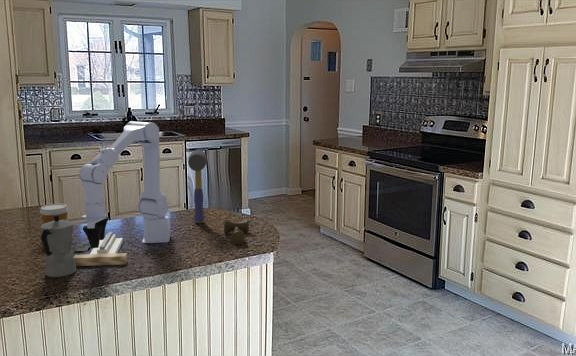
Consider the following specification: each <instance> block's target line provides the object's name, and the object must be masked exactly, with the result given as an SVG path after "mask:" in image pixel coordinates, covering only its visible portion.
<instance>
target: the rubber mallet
mask: <svg viewBox="0 0 576 356" xmlns="http://www.w3.org/2000/svg"><path fill="white" fill-rule="evenodd" d="M187 163H188V164H187V165H188V166H189V168H190V170H192V171H194V181H195V183H194V187H195V188H194V192H193V193H194V194H193V203H194V222H195V223H197V224H202V223H204V220H205V217H204V193H203V192H204V191H203V188H202V186H203V183H202V170H204V169H205V167H206V165H207V164H208V155H206V153H205V152H204V151H203V150H201V149H196V150H194V151H192V152H191V153H190V154H189V156H188V159H187Z"/></svg>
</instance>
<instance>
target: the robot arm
mask: <svg viewBox="0 0 576 356" xmlns="http://www.w3.org/2000/svg"><path fill="white" fill-rule="evenodd" d="M134 142H136V143H138V144H139V145H140V146H141V147H143V173H144V174H143V177H144V178H143V181H144V183H143V185H144V189H143V190H144V191H143V192H141V193H140V194H139V197H138V198H139V199H138V203H137V210H138V212H139V214H141V217H142V218H143V219H142V220H143V221H142V222H143V239H142V240H141V243H142V244H155V243H157V244H158V243H159V244H160V243H169V242H170V239H171V235H172V234H171V233H172V232H171V221H170V220H171V219H170V216H169V215H167V213H168V211H169V204H168V201H167V196H166V194H165V193H164V192H163V191H162V190H161V189H160V188H161V173H160V172H161V169H160V166H161V165H160V162H161V161H160V159H161V158H160V157H161V156H160V128H159V126H158V125H157V124H156V123H154V122H153V121H152V122H151V121H149V122H146V121H145V122H144V121H134V120H130V121H129V122H127V123H126V124H125V126H123V131H122V133H121V134H120V135H119V136H118V137H117V139H116V140H115V141H114V142H113V143H112V145H111V146H110V147H104V148H101V150H99V151H100V152H98V154H97V155H96V156H95V157H94V158H92V159H91V161H90V162H89V163H85V164H84V165H82V166H81V167H80V169H79V173H78V174H77V175H78V178H79V180H80V182H81V183H82V184H81V185H82V187H83V195H84V209H85V214H83V215H82V216H81V219H82V220H85V221H86V225H84V226H82V231H83V232H84V234H85V235H86V237H87V238H88V241H89V243H90V246H91V247H90V248H91V249H93V248H98V247H99V241H100V240H103V239H104V238H105V237H104V236H106V234H105V233H106V227H107V224H108V221H109V219H110V217H109V216H107V213H106V204H105V201H106V200H105V188H104V182H105V181H106V180H107V178H108V176H109V175H108V174H109V173H110V170H112V169H111V168H113V167H114V166H115V164H117V163H118V162H119V158H120V157H119V155H120V154H121V153H122V152H123V151H125V150H126V149H127V148H128V147H129V146H130V145H132V143H134Z"/></svg>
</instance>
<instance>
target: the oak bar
mask: <svg viewBox="0 0 576 356" xmlns="http://www.w3.org/2000/svg"><path fill="white" fill-rule="evenodd" d="M73 256H74V260H75V264H76V267H88V266H90V267H91V266H109V265H110V266H111V265H113V266H114V265H115V266H116V265H117V266H118V265H126V264H127V262H128V253H127V252H119V253H113V254H90V253H88V254H86V253H85V254H74V255H73Z"/></svg>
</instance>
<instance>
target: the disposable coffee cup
mask: <svg viewBox="0 0 576 356" xmlns="http://www.w3.org/2000/svg"><path fill="white" fill-rule="evenodd" d="M68 211H69V208H68V205H67V204H65V203H51V204H44V205H42V206H41V207H40V210H39V213H40V215H41V218H42V222H43V223H42V224H45V223H48V222H51V221H55V220H54V217H53V216H54V215H59V220H68Z"/></svg>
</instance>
